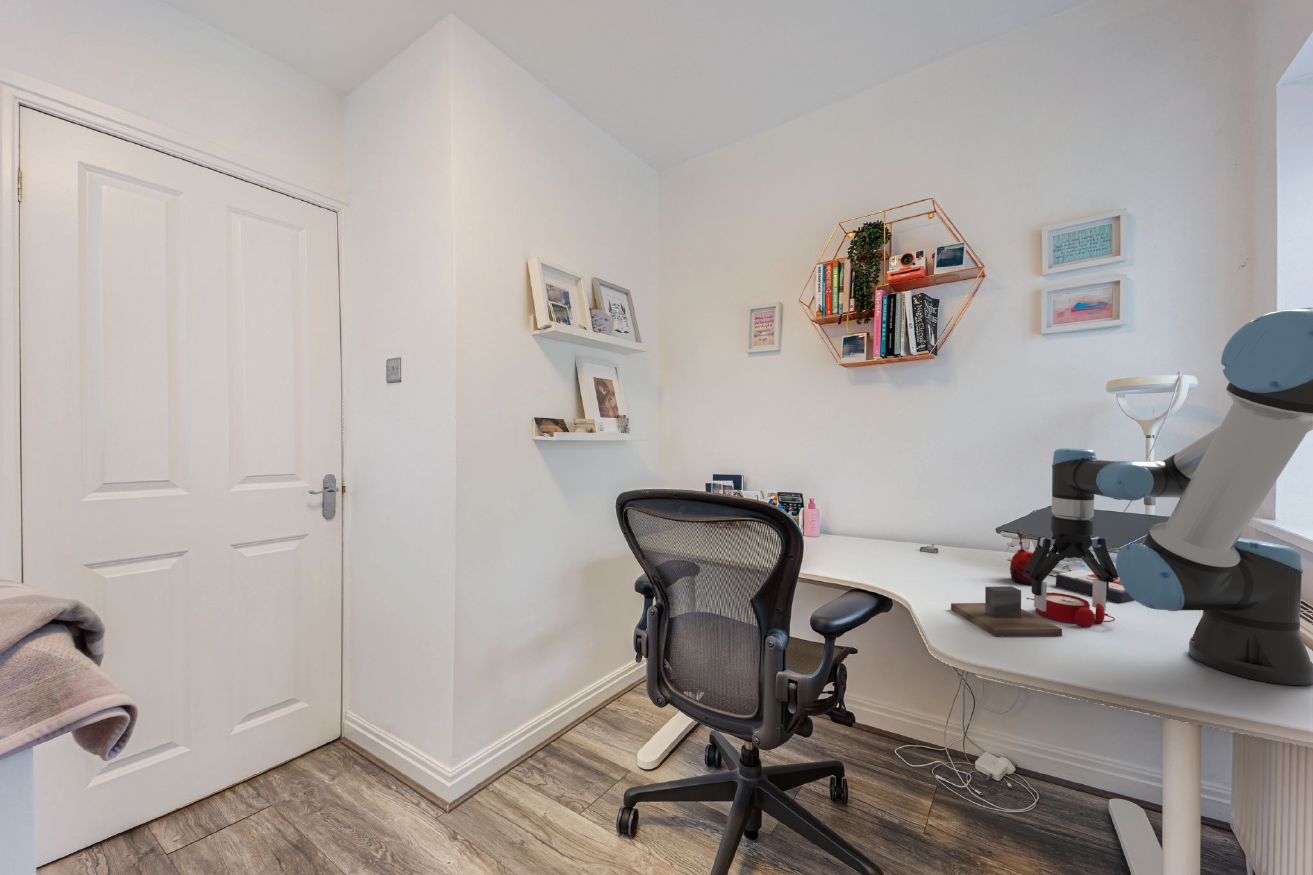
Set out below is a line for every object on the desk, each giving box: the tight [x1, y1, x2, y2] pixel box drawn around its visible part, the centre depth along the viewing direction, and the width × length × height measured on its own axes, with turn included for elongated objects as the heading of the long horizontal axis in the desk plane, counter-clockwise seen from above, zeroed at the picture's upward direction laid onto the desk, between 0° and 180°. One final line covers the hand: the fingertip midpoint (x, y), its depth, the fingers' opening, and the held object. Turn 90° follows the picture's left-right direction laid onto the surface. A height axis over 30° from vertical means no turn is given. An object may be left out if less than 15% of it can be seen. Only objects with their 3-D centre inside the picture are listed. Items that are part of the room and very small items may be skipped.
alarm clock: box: [1026, 592, 1116, 628], centre depth 119 cm, size 10×6×15 cm
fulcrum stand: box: [950, 585, 1063, 638], centre depth 116 cm, size 16×14×8 cm
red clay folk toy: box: [1009, 528, 1033, 586], centre depth 145 cm, size 8×7×15 cm
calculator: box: [1055, 569, 1136, 604], centre depth 137 cm, size 11×4×15 cm
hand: (1069, 608), depth 119 cm, fingers open, 13 cm apart
